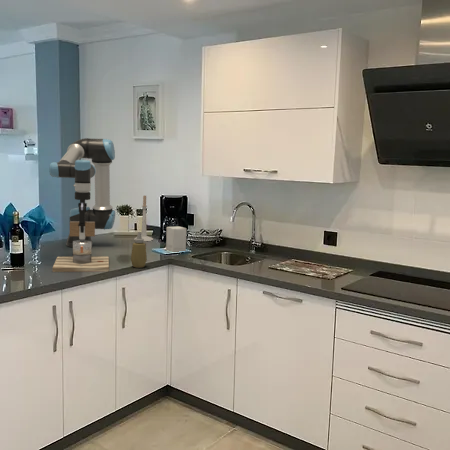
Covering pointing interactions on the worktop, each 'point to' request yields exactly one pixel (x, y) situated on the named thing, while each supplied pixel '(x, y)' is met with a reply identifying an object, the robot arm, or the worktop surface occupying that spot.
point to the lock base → (81, 264)
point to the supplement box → (176, 239)
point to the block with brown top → (82, 245)
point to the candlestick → (144, 223)
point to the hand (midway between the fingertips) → (82, 238)
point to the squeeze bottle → (138, 252)
